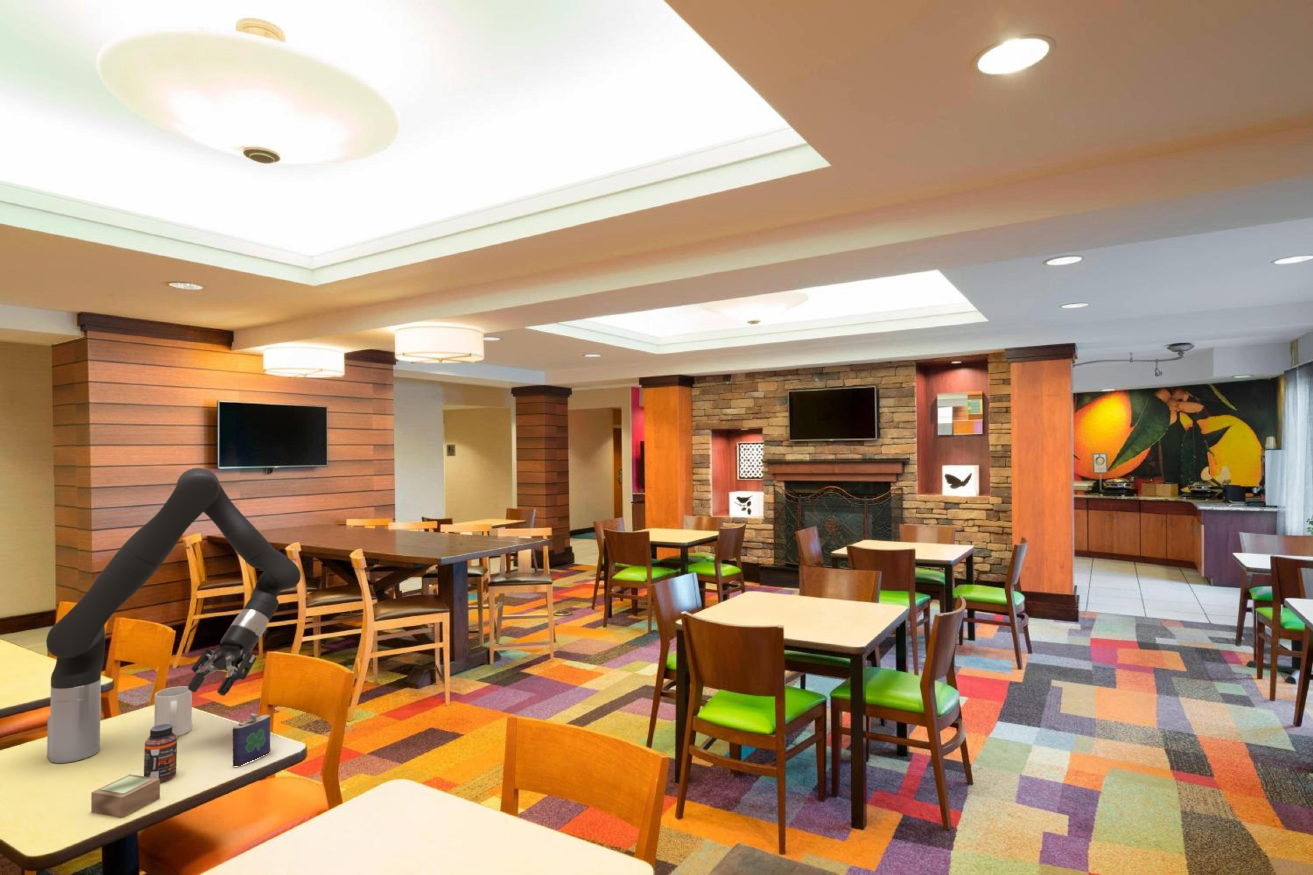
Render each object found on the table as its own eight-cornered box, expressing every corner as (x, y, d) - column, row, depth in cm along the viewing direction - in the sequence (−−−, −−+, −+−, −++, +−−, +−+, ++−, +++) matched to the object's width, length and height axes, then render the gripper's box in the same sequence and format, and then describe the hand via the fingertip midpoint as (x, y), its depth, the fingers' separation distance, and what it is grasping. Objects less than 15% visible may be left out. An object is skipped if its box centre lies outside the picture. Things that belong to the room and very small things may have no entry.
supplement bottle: (159, 785, 153) (160, 733, 153) (136, 783, 154) (137, 731, 154) (183, 773, 159) (183, 722, 159) (161, 770, 160) (161, 720, 160)
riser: (91, 812, 142) (91, 791, 142) (129, 793, 150) (130, 773, 150) (122, 817, 140) (122, 796, 140) (159, 797, 148) (160, 777, 148)
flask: (265, 750, 171) (266, 705, 171) (274, 752, 170) (274, 707, 170) (229, 766, 163) (229, 719, 163) (238, 768, 161) (238, 721, 161)
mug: (154, 730, 182) (155, 689, 182) (191, 723, 187) (191, 684, 187) (153, 747, 172) (154, 704, 172) (192, 740, 177) (192, 697, 177)
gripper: (213, 621, 178) (171, 682, 167) (260, 625, 175) (221, 687, 164) (230, 637, 183) (191, 696, 172) (276, 641, 180) (239, 702, 169)
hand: (205, 692), depth 168 cm, fingers open, 8 cm apart
